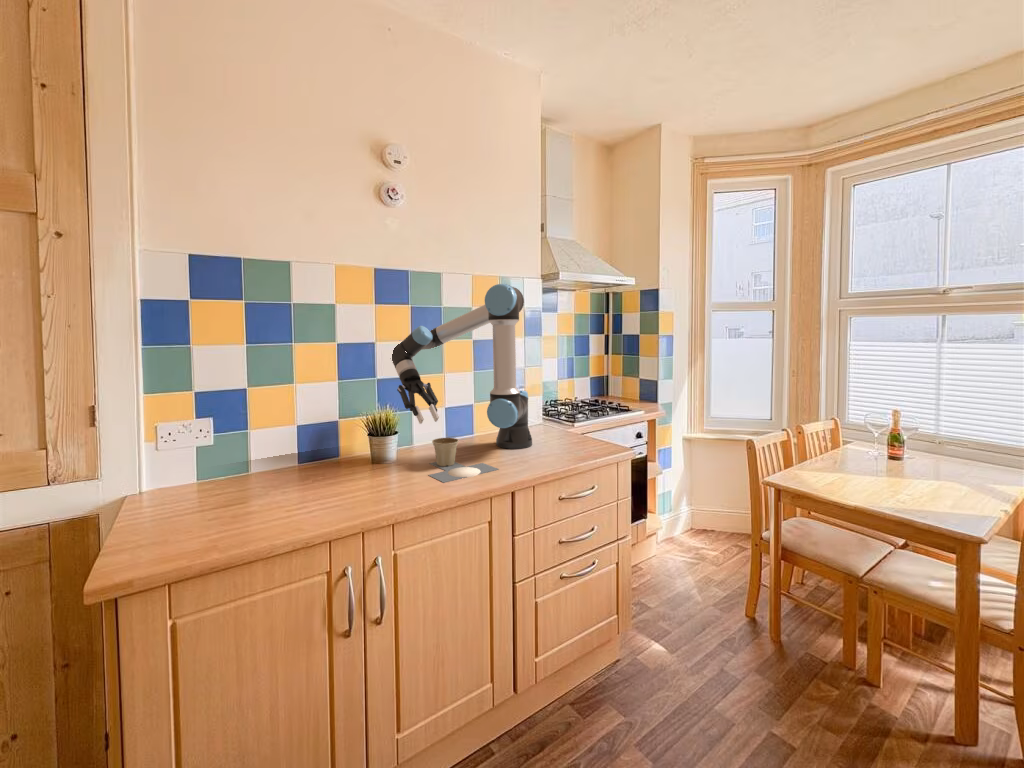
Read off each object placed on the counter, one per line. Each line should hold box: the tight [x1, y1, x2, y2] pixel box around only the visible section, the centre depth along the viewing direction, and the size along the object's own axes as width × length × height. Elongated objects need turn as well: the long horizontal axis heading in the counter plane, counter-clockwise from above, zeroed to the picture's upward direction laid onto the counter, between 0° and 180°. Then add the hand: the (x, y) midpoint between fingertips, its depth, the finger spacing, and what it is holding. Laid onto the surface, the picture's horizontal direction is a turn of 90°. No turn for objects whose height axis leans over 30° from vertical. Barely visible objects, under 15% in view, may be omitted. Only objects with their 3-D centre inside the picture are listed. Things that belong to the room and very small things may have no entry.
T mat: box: [427, 461, 500, 484], centre depth 161 cm, size 22×22×1 cm
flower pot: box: [431, 437, 460, 466], centre depth 165 cm, size 9×9×9 cm
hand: (429, 420), depth 173 cm, fingers open, 6 cm apart
